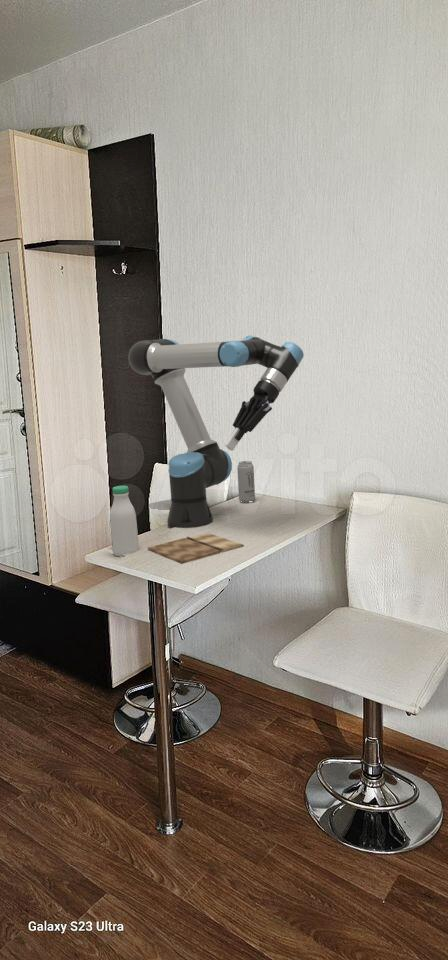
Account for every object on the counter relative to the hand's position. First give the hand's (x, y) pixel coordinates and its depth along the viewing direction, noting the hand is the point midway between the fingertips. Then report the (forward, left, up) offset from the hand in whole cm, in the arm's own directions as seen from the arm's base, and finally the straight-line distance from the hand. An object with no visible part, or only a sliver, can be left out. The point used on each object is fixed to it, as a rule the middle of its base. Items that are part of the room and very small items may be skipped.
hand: (228, 447), depth 210 cm
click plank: (+3, -14, -27) cm, 31 cm away
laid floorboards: (+3, -9, -28) cm, 30 cm away
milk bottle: (-11, -31, -28) cm, 44 cm away
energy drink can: (-34, +33, -28) cm, 55 cm away
